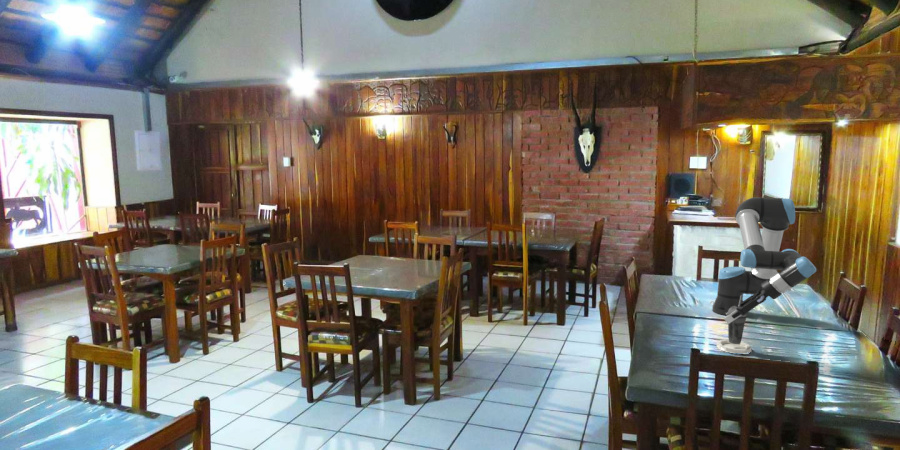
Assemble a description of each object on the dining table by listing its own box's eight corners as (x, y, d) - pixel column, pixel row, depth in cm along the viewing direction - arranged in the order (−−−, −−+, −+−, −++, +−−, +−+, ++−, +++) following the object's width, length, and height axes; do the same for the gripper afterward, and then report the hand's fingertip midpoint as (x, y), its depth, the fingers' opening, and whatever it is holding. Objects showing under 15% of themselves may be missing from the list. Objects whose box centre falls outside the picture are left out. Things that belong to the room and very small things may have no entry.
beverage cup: (721, 339, 235) (725, 293, 232) (737, 338, 235) (741, 293, 232) (731, 345, 227) (735, 298, 224) (748, 345, 228) (752, 297, 225)
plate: (744, 344, 237) (744, 340, 237) (756, 356, 225) (757, 351, 224) (712, 343, 239) (712, 338, 239) (722, 354, 226) (723, 349, 226)
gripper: (782, 299, 212) (731, 332, 222) (783, 288, 229) (735, 319, 239) (767, 284, 214) (717, 317, 224) (769, 274, 231) (723, 305, 241)
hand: (727, 318), depth 232 cm, fingers closed on beverage cup, 7 cm apart
